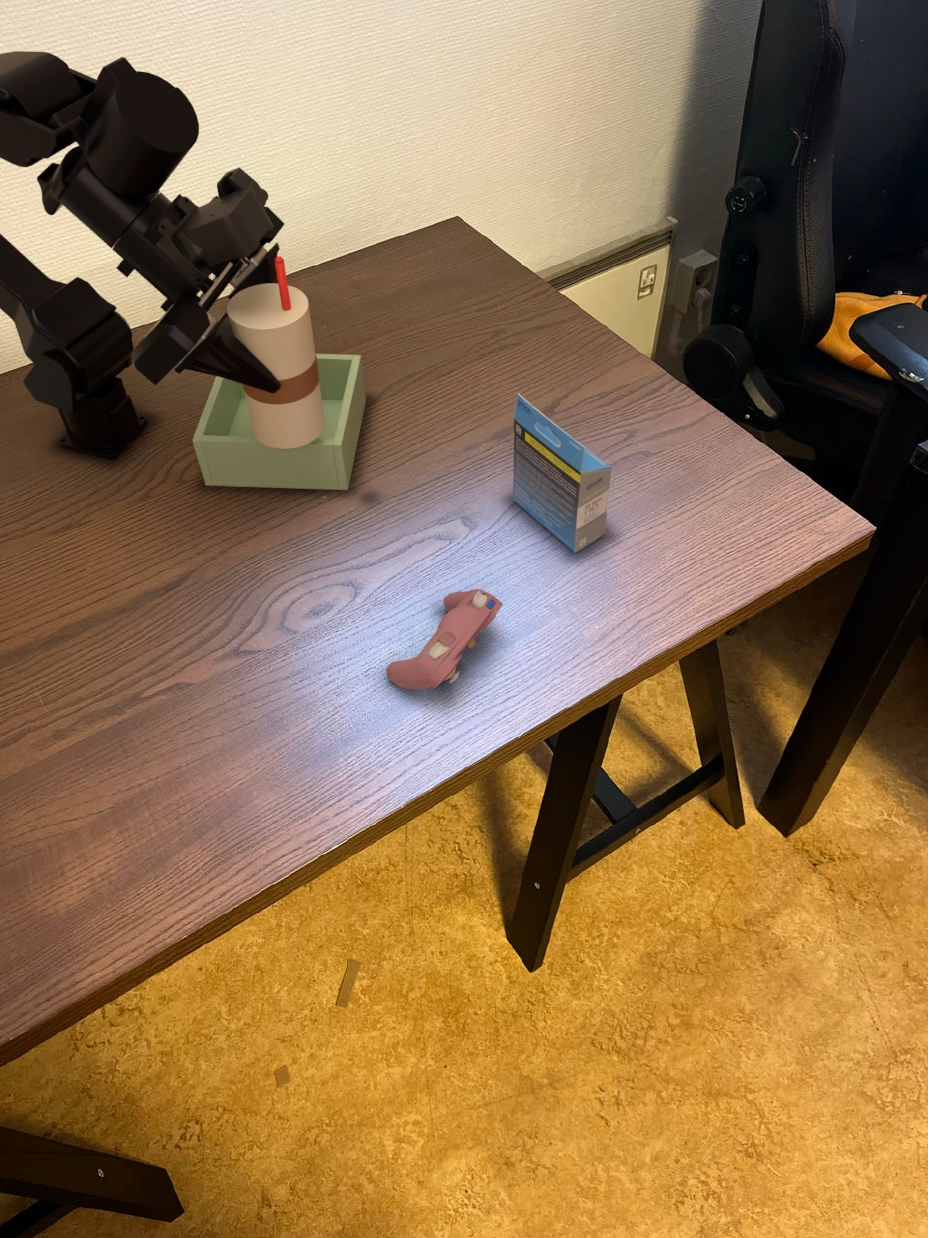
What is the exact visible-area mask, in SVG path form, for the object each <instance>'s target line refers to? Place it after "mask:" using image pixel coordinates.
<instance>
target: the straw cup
mask: <svg viewBox="0 0 928 1238" xmlns="http://www.w3.org/2000/svg"><path fill="white" fill-rule="evenodd" d="M275 267H276V273H277V279H278V283H267V284H260V285H255V286H251V287H248V288H246V289H244V290H242V291H240V292H238V293H237V294H235V295H234V296H233V297H232V298H231V299H229V301H228V303H227V306H226V312H227V313H228V315H229V318H230V322H231V326H232V329H233V333H234V335H235V337H236V338H237V339H238V340H239V341H240V342H241V343H242V344H243V345H244V346H245V347H246V348H247V349H248V350H249V351H250V352H251V353H252V354H253V355H254V356H255V357H256V358H257V359H258V360H259V361H260V362H261V363H262V364H263V365H264V366H265V367H266V368H267V369H268V370H269V371H270V372H271V373H272V374H273V375H274V376H275V377H276V379H277V380H278V381H279V382H280V383H281V388H280V389H279V390H278V391H277V392H275V393H270V392H266V391H263V390H260V389H257V388H254V387H251V386H248V385H244V384H242V387H243V389H244V393H245V398H246V403H247V407H248V412H249V417H250V421H251V426H252V431H253V434H254V436H255V437H256V438H257V440H259V441H260V442H261V443H263V444H265V445H267V446H270V447H273V448H279V449H290V448H296V447H300V446H304V445H306V444H308V443H310V442H312V441H313V440H315V439H316V438H317V437H318V436H319V435H320V434H321V433H322V431H323V429H324V425H325V420H324V413H323V405H322V398H321V391H320V383H319V372H318V364H317V357H316V354H317V352H316V348H315V341H314V340H315V339H314V333H313V332H314V331H313V325H312V317H311V311H310V303H309V299H308V297H307V296H306V294H305V292H303V291H302V290H300V289H299V288H297V287H295V286H292V285H289V284H288V278H287V272H286V264H285V260H284V257H282V256H280V255H279V256H278V255H277V257H276V258H275Z"/></svg>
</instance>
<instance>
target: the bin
mask: <svg viewBox="0 0 928 1238" xmlns="http://www.w3.org/2000/svg"><path fill="white" fill-rule="evenodd" d="M316 357H317V364H318V372H319V383H320V391H321V398H322V405H323V413H324V420H325V425H324V429H323V431H322V433H321V434H320V435H319V436H318V437H317V438H316V439H315V440H313V441H312V442H310V443H308V444H306V445H304V446H300V447H296V448H290V449H279V448H273V447H270V446H267V445H265V444H263V443H261V442H260V441H259V440H257V438H256V437H255V436H254V434H253V431H252V426H251V421H250V417H249V412H248V407H247V403H246V398H245V393H244V389H243V387H242V384H241V383H238V382H235V381H232V380H228V379H225V378H222V377H218V376H215V377H214V378H215V379H214V382H213V383H212V387H211V389H210V393H209V395H208V397H207V399H206V402H205V405H204V408H203V409H202V410H203V411H202V413H201V415H200V418H199V421H198V424H197V426H196V429H195V431H194V435H193V438H192V444H193V447H194V451H195V455H196V458H197V460H198V461H197V462H198V464H199V467H200V471H201V474H202V477H203V481H204V484H205V486H210V487H211V486H215V487H239V488H240V487H241V488H267V489H268V488H269V489H270V488H271V489H272V488H273V489H301V490H327V491H329V490H330V491H332V490H334V491H348V490H349V488H350V487H349V486H350V482H351V477H352V471H353V466H354V462H355V456H356V453H357V452H356V451H357V448H358V447H357V446H358V441H359V437H360V432H361V427H362V422H363V417H364V413H365V408H366V403H367V397H366V396H367V395H366V386H365V378H364V369H363V359H362V354H344V353H343V354H340V353H339V354H338V353H316Z"/></svg>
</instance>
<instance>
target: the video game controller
mask: <svg viewBox="0 0 928 1238" xmlns="http://www.w3.org/2000/svg"><path fill="white" fill-rule="evenodd" d="M503 605H504V602H501V600H499V598H497V597H496V596H495V595H493V594H491V593H490V592H488V591H485V590H483V589H479V588H474V589H471V590H467V591H466V590H465V591H454V592H450V593H449V594H447V595H446V596H445V597H444V598H443V606H444V608H445V610H446V613H445V615H444V616H443V617H442V618H441V620H440V622H439V624H438V626H437V629H436V632H435V633H434V634H433V635H432V637H431V638H430V639H429V641H427V643H426V644H425V646H424V647H423V649H422V650H421V651H420V653H419V654H418V655H417V656H415V657H413V658H409V659H404V660H397V661H392V662H391V663H389V664H388V665H387V666H386V676H387V677H388V679H389V681H390V682H391V683H393V684H394V685H396V686H397V687H400V688H403V689H407V690H413V691H414V690H415V691H416V690H417V691H418V690H426V689H427V690H428V689H430V688H432V689H434V690H435V689H436V688H437V687H438V686H439V685H440V684H441V683H443V682H444V681H447V680H449V681H448V684H451V683H454V682H455V681H456V680H457V679H458V678H459V676H460V672H461V671H460V670H457V667H458V664H459V661H460V660H461V658H462V657H463V655H464V654H463V652H464V651H465V649H467V647H468V649H470V648H473V647H474V646H475V644H476V639H475V638H476V637H478V636H479V634H480V633H481V632H482V631H483V630H484V629H486V628H488V627H489V626H490V625H491V623H492V622H493V621H494V620H495V618H496V616H497V614H498V613H499V611H500V610H501V608H502V607H503Z"/></svg>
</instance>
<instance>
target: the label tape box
mask: <svg viewBox="0 0 928 1238" xmlns="http://www.w3.org/2000/svg"><path fill="white" fill-rule="evenodd" d="M611 475H612V465H610V464H608V463H607V462H606V461H605V460H603V459H602V458H601V457H600V456H599V455H597V454H595V452H593V451H592V450H590V449H589V448H588V447H587V446H585V445H583V444H582V443H581V442H580V441H579V440H577V439H576V438H575V437H573V436H572V435H571V434H569V433H568V432H567V431H566V430H565V429H563V428H561V427H560V426H559V425H557V424H556V422H553V421H552V419H550V418H549V417H548V416H546V415H545V414H544V413H543V412H542V411H540V410H539V409H538V408H537V407H535V406H534V405H532V404H531V402H529V401H528V400H527V399H525V398H524V397H523V396H522V395H521V394H520V392H518V393H517V395H516V404H515V409H514V414H513V481H512V483H513V487H512V488H513V489H512V491H513V492H512V494H513V495H512V500H513V501H514V502H515V503H516V504H517V505H518V506H520V507H521V509H523V510H524V511H525V512H527V513H528V514H529V515H530V516H531V517H532V518H533V519H534V520H535V521H537V523H539V524H541V526H543V528H545V529H546V530H547V531H549V532H550V533H551V534H552V535H553V536H554V537H555V538H557V539H558V540H559V541H560V542H561V543H563V545H565V547H567V548H568V549H570V550H571V551H572V552H573V553H575V554H576V553H578V552H579V551H581V550H583V549H584V548H586V547H587V546H589V545H591V544H592V543H594V542H595V541H597V540H598V539H600V538H602V537H603V536H604V535H605V533H606V532H605V530H606V521H607V513H608V503H609V493H610V486H611V485H610V484H611Z"/></svg>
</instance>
